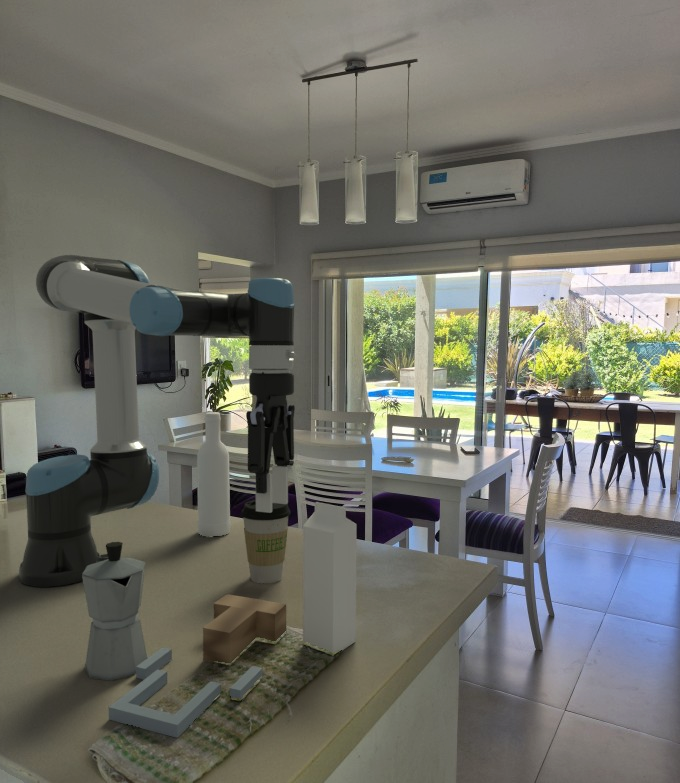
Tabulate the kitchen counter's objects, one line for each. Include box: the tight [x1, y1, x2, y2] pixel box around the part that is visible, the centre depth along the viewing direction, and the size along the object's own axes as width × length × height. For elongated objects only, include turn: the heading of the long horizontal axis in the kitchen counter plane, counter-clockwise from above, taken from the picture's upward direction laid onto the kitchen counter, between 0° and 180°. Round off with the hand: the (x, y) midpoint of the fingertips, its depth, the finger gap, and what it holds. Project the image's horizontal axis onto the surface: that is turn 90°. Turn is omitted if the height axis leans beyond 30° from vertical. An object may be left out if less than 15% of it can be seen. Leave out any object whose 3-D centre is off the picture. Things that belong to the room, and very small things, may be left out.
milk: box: [302, 501, 357, 653], centre depth 95 cm, size 6×6×22 cm
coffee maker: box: [82, 541, 148, 682], centre depth 90 cm, size 15×9×18 cm, turn 33°
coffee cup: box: [240, 499, 291, 585], centre depth 123 cm, size 10×10×15 cm
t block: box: [202, 593, 287, 663], centre depth 95 cm, size 11×12×5 cm
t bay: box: [108, 647, 263, 739], centre depth 81 cm, size 17×15×2 cm
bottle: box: [196, 411, 231, 537], centre depth 152 cm, size 8×8×30 cm
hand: (272, 506), depth 105 cm, fingers open, 5 cm apart
